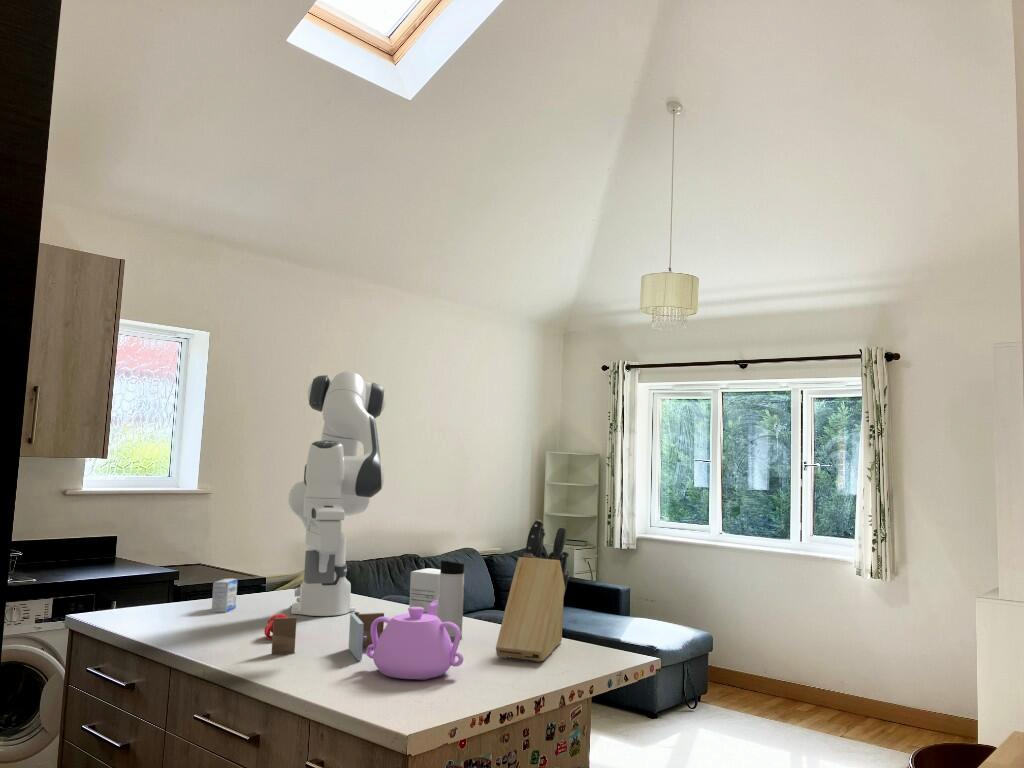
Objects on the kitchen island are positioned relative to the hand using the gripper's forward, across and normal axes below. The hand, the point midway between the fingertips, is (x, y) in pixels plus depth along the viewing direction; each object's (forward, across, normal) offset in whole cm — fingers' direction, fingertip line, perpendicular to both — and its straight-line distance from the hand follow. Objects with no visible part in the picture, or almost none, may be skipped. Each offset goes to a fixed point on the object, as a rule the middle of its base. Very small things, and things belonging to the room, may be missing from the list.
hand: (319, 570), depth 184 cm
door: (+19, +1, +10) cm, 21 cm away
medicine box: (+19, -64, -14) cm, 69 cm away
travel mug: (+20, -10, +36) cm, 42 cm away
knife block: (+20, +6, +53) cm, 57 cm away
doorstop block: (+3, 0, 0) cm, 3 cm away
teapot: (+20, +18, +18) cm, 33 cm away
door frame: (+19, -6, +3) cm, 20 cm away
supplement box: (+20, -28, +37) cm, 50 cm away
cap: (+20, -22, -5) cm, 30 cm away
